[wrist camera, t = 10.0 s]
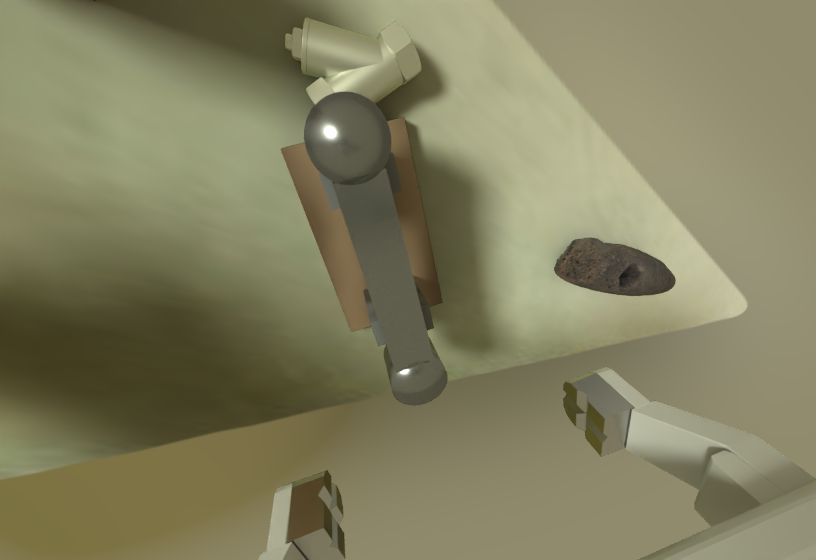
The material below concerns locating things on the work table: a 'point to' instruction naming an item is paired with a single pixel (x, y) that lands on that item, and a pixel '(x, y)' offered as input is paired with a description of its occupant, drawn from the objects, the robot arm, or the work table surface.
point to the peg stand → (336, 238)
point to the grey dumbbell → (376, 235)
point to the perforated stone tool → (613, 269)
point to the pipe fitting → (353, 59)
